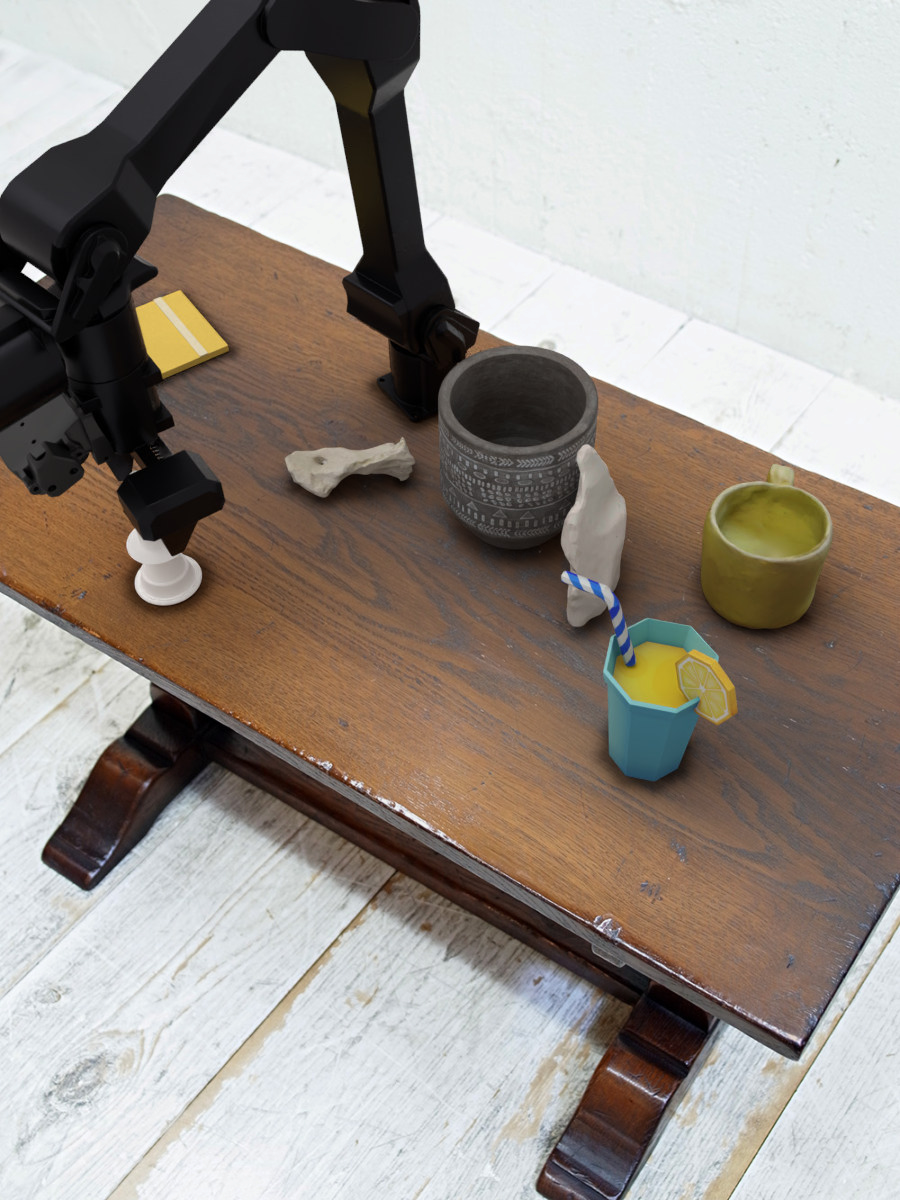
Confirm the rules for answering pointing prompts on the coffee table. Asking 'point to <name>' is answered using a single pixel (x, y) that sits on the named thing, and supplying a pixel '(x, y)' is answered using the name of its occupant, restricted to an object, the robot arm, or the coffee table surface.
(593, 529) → the stone
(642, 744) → the cup
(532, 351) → the planter
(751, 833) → the coffee table surface
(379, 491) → the coffee table surface
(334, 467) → the off-white irregular piece
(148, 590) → the candle
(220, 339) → the towel
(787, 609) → the mug
